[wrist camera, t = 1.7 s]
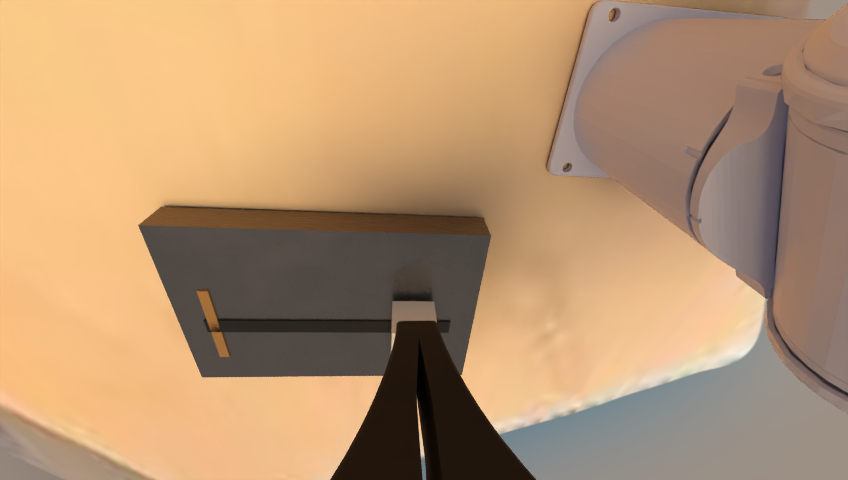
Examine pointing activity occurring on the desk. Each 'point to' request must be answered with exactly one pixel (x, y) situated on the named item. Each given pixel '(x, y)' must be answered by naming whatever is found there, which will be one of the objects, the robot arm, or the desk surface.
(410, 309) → the fader knob
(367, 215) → the fader console
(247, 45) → the desk surface
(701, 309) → the desk surface
